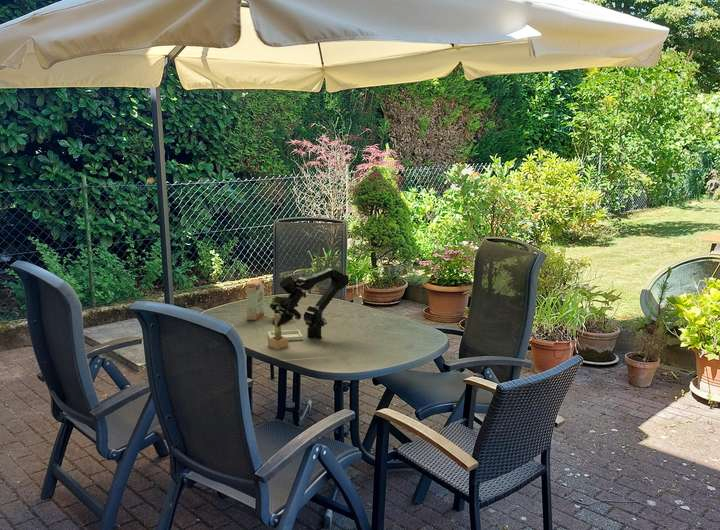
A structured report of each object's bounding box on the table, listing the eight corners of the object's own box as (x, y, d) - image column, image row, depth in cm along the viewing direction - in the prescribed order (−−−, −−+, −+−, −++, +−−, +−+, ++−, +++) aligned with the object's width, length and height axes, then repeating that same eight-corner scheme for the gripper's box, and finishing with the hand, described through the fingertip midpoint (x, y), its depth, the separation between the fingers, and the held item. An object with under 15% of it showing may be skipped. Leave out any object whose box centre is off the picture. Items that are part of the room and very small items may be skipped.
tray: (299, 334, 318) (299, 329, 318) (302, 340, 307) (302, 336, 306) (268, 336, 314) (268, 331, 314) (270, 343, 303) (270, 338, 303)
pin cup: (279, 343, 302) (279, 335, 301) (288, 347, 297) (288, 338, 296) (268, 346, 297) (267, 337, 296) (276, 350, 292) (276, 341, 291)
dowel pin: (280, 337, 298) (280, 313, 296) (281, 338, 295) (281, 314, 293) (274, 337, 297) (274, 313, 295) (275, 339, 294) (274, 315, 292)
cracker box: (257, 320, 343) (256, 284, 339) (246, 320, 344) (245, 283, 340) (265, 314, 356) (264, 279, 352) (255, 313, 357) (254, 278, 353)
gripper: (272, 286, 301) (253, 312, 296) (296, 293, 288) (277, 320, 283) (284, 299, 308) (267, 325, 302) (309, 306, 295) (291, 333, 289)
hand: (275, 325), depth 294 cm, fingers closed on dowel pin, 3 cm apart
